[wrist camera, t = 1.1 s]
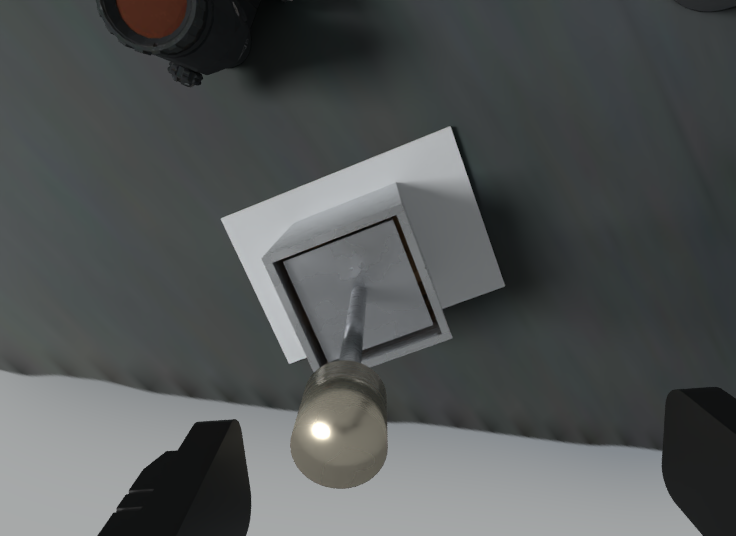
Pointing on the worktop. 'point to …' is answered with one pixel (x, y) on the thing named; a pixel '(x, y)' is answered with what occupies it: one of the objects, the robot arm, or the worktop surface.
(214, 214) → the worktop surface
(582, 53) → the worktop surface
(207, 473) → the robot arm
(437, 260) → the tray
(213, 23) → the scope
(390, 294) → the plunger
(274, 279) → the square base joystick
